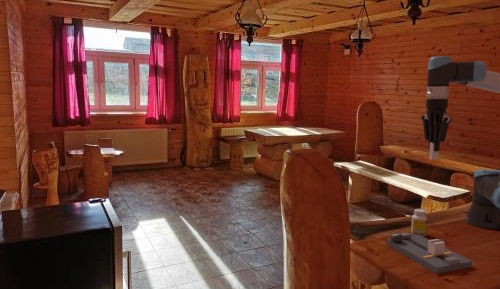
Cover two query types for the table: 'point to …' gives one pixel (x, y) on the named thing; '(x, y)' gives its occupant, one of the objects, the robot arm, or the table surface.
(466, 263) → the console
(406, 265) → the table surface
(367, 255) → the table surface
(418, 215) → the supplement bottle
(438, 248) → the fader knob
